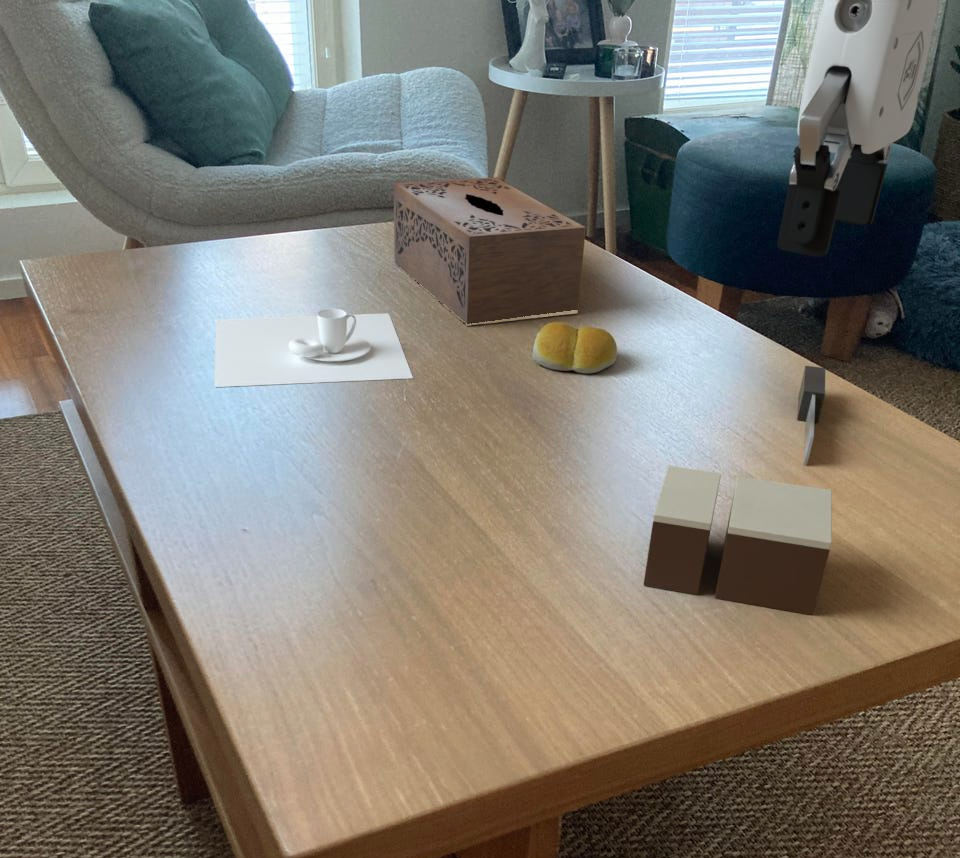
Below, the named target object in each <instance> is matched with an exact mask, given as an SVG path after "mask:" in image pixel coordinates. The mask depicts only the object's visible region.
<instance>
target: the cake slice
mask: <svg viewBox="0 0 960 858" xmlns="http://www.w3.org/2000/svg"><path fill="white" fill-rule="evenodd" d="M721 476H722V473H719V472H714V471H707V470H700V469H693V468H687V467H680V466H674V465H668V466H667V470H666V472H665V476H664V480H663V482H662V486H661V489H660V492H659V496H658V500H657V503H656V506H655V510H654V513H653V517H652V525H651V533H650V538H649V546H648V552H647V558H646V564H645V565H646V566H645V571H644V578H643V586H644V587H650V588H656V589H660V590H666V591H672V592H679V593H684V594H690V595H696V596H698V595H699V592H700V587H701V583H702V581H701V580H702V576H703V571H704V566H705V562H706V561H705V560H706V556H707V550H708V546H709V540H710V536H711V530H712V524H713V520H714V514H715V508H716V503H717V499H718V495H719V493H718V492H719V489H720V488H719V487H720V483H721V478H722V477H721Z"/></svg>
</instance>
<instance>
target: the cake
mask: <svg viewBox="0 0 960 858" xmlns="http://www.w3.org/2000/svg"><path fill="white" fill-rule="evenodd" d="M832 544H833V490H832V489H828V488H827V489H826V488H819V487H814V486H813V487H812V486H806V485H800V484H794V483H787V482H781V481H774V480H766V479H761V478H754V477H747V476H740V475H737V476H736V481H735V486H734V491H733V496H732V500H731V507H730V511H729V515H728V521H727V525H726V532H725V536H724V542H723V545H722V551H721V552H722V554H721V558H720V564H719V569H718V575H717V581H716V582H717V583H716V587H715V594H714V599H717V600H718V599H719V600H724V601H728V602H729V601H730V602H736V603H741V604H746V605H747V604H748V605H751V606H752V605H753V606H758V607H763V608H769V609H775V610H781V611H786V612H793V613H799V614H804V615H808V616H809V615H811V616H812V615H813V614H814V610H815V606H816V603H817V599H818V595H819V592H820V588H821V585H822V580H823V577H824V574H825V570H826V566H827V562H828V558H829V556H830V551H831V547H832Z"/></svg>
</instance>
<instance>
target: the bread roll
mask: <svg viewBox="0 0 960 858" xmlns="http://www.w3.org/2000/svg"><path fill="white" fill-rule="evenodd" d="M617 355H618V346H617V343H616V340H615V339H614V336H613V335H612V334H611V332H608V331H607V330H606V329H604V328H599V327H593V326H579V327H578V328H575V327H574V326H573V325H571V324H569V323H567V322H561V321H553V322H549V323H547V324H545V325H544V326H543V327H542V328H541V329H540V330H539V331H538V332H537V333H536V336H535V339H534V343H533V347H532V360H533V361H534V362H535V363H536V364H538V365H539V366H541V365H542V367H544V368H546V369H549V370H554V371H561V372H562V371H563V372H571V371H574V372H575V373H578V374H579V373H580V374H594V373H599V372H601V371H603V370H605V369H608V368H609V367H610V366H613V365H614V363H616V360H617Z"/></svg>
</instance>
